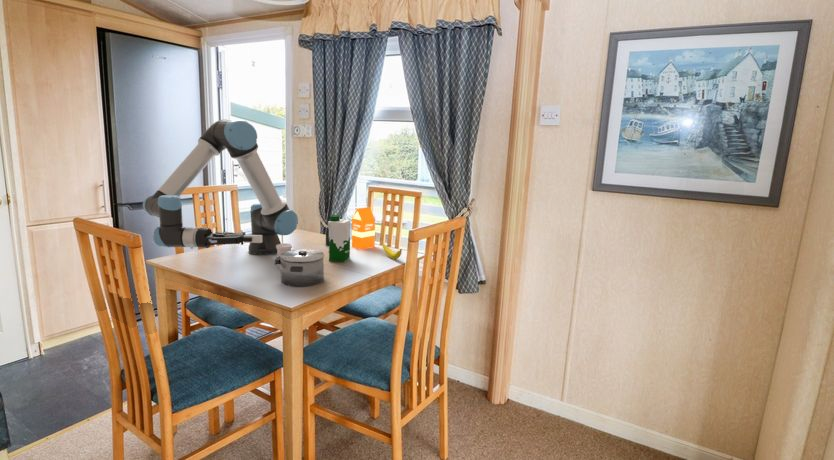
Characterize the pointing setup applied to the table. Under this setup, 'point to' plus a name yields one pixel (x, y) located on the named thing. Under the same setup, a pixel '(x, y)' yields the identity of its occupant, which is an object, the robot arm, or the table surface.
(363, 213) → the orange juice
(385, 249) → the banana
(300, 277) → the cooker
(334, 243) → the milk carton
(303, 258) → the lid
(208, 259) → the table surface
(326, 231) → the supplement bottle
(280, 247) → the smoothie
